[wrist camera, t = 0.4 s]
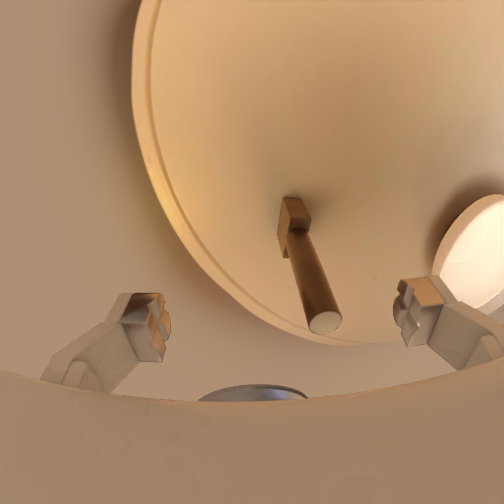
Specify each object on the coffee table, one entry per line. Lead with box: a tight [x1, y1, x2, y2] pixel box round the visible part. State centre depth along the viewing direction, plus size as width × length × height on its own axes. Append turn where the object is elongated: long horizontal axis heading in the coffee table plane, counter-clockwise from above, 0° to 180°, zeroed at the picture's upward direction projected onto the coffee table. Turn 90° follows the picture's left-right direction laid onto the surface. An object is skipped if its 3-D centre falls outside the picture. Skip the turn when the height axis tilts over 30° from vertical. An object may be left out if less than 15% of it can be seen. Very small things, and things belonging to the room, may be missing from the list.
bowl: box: [432, 194, 504, 309], centre depth 36 cm, size 20×20×7 cm
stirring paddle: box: [277, 198, 342, 334], centre depth 29 cm, size 5×3×17 cm, turn 175°
